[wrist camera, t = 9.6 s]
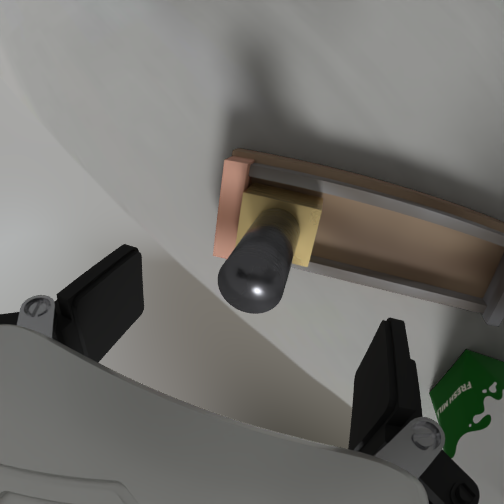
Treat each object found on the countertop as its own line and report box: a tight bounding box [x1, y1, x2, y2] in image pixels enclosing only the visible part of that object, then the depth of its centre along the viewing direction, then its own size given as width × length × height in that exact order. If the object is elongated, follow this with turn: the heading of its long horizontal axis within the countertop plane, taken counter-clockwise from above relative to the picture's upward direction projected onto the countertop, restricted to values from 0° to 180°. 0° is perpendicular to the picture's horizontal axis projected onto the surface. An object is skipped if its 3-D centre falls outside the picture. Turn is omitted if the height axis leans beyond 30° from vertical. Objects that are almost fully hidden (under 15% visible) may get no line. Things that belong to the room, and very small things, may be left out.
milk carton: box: [429, 349, 504, 504], centre depth 18 cm, size 9×9×20 cm
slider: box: [218, 183, 323, 313], centre depth 19 cm, size 4×5×10 cm
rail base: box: [213, 148, 504, 327], centre depth 22 cm, size 8×25×4 cm, turn 81°
